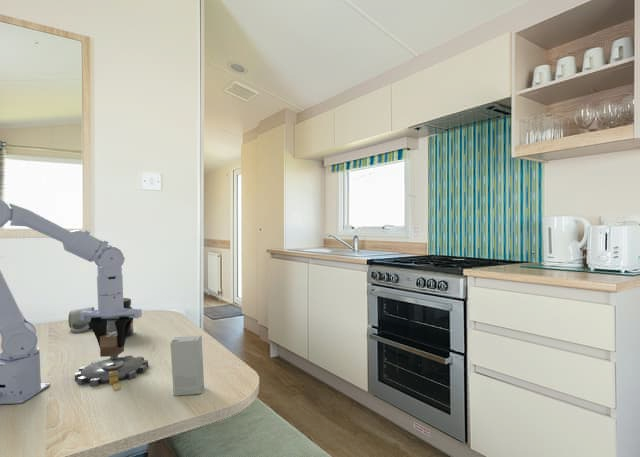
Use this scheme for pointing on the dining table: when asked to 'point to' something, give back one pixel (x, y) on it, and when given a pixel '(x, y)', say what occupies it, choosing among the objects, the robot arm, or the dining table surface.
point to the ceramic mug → (78, 320)
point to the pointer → (116, 386)
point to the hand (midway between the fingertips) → (112, 346)
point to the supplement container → (111, 321)
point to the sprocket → (111, 370)
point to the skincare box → (187, 365)
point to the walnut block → (109, 345)
